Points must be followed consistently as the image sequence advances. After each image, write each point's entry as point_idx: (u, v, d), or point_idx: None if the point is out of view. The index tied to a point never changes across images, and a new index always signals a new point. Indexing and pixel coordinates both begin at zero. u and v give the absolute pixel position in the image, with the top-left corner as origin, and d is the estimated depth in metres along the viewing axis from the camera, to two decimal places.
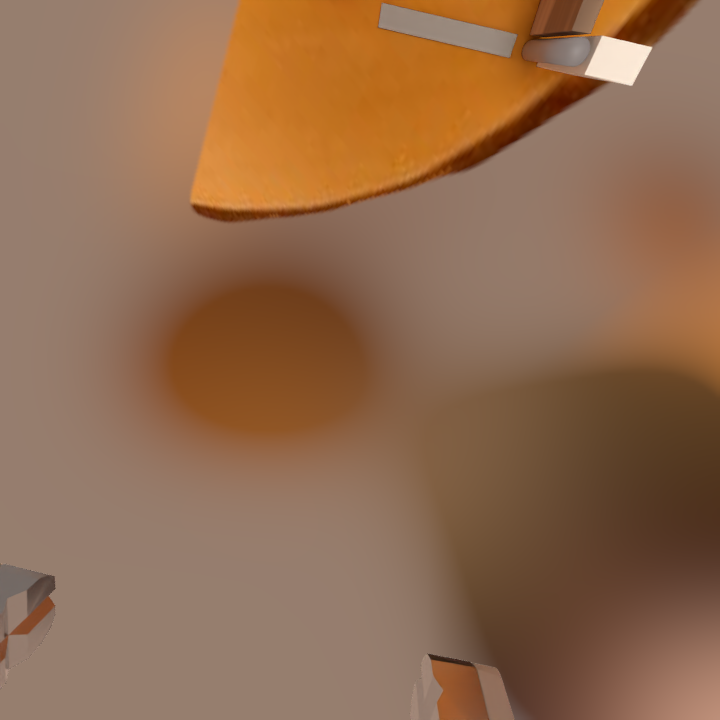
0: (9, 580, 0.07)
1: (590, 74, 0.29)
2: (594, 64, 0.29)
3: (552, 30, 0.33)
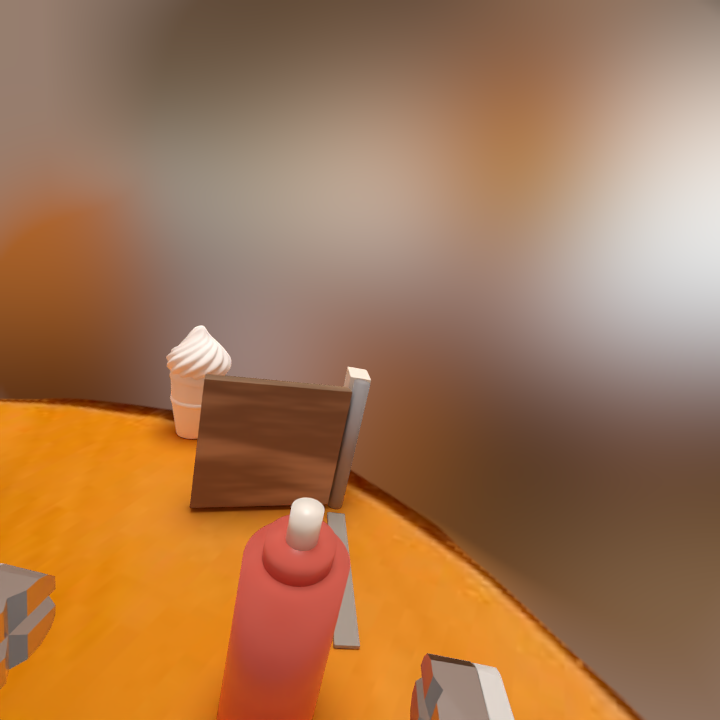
0: (8, 581, 0.07)
1: (369, 378, 0.43)
2: (364, 378, 0.42)
3: (340, 439, 0.41)
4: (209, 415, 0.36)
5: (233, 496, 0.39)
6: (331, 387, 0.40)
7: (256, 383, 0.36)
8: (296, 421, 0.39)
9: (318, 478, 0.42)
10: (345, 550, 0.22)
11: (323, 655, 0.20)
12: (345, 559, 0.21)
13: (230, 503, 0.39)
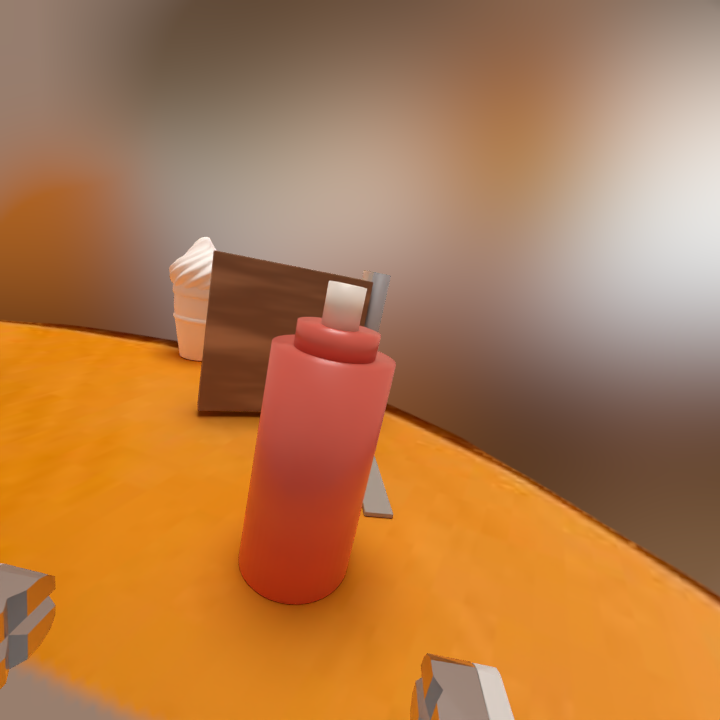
0: (8, 581, 0.07)
1: None
2: None
3: None
4: (220, 297, 0.31)
5: (246, 399, 0.35)
6: (350, 277, 0.37)
7: (272, 262, 0.32)
8: (314, 312, 0.35)
9: None
10: (387, 356, 0.19)
11: (366, 463, 0.17)
12: (388, 360, 0.18)
13: (243, 407, 0.35)
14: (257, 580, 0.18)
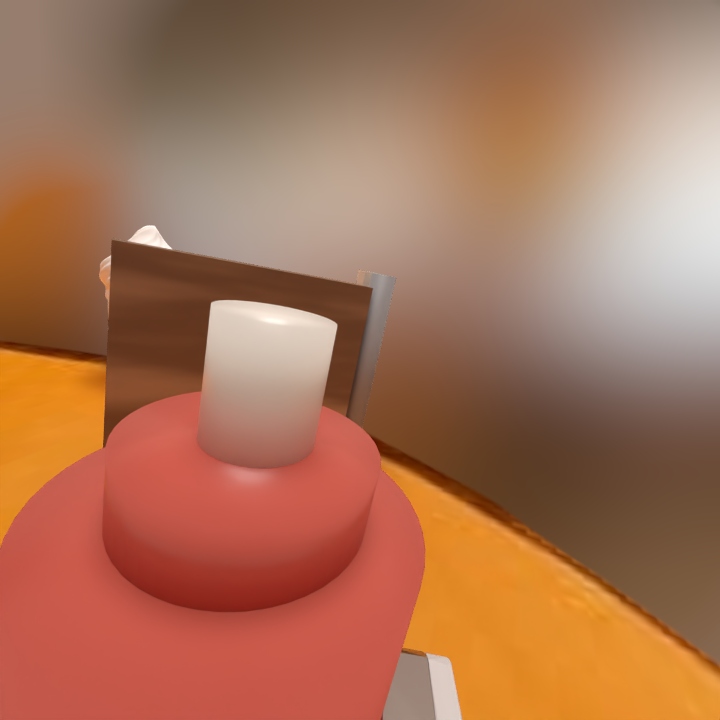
0: None
1: None
2: None
3: (354, 366, 0.27)
4: (128, 319, 0.18)
5: None
6: (340, 281, 0.25)
7: (218, 259, 0.20)
8: None
9: None
10: (397, 491, 0.07)
11: None
12: (403, 514, 0.07)
13: None
14: None
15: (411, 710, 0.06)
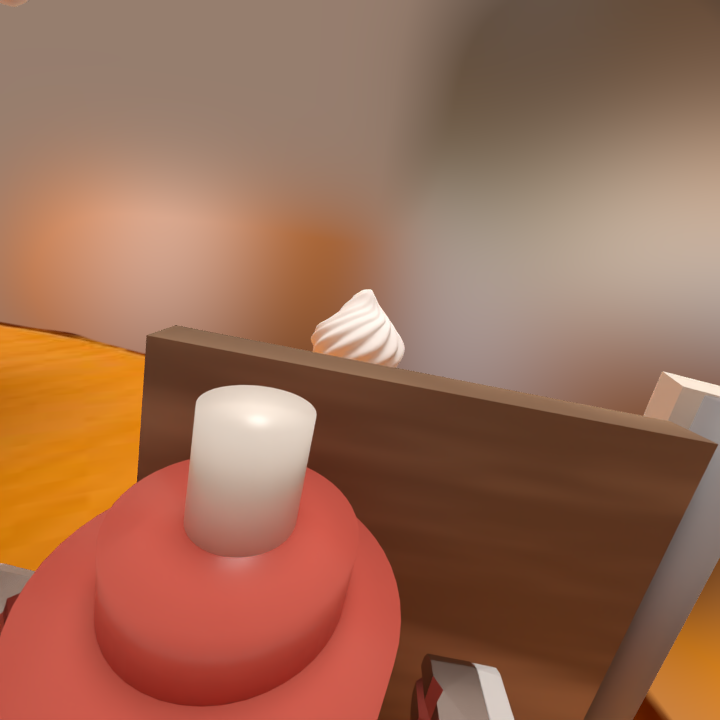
0: (8, 581, 0.07)
1: None
2: None
3: (631, 610, 0.11)
4: None
5: None
6: (620, 416, 0.10)
7: (345, 372, 0.09)
8: (481, 534, 0.10)
9: None
10: (379, 552, 0.08)
11: None
12: (382, 580, 0.07)
13: None
14: None
15: None
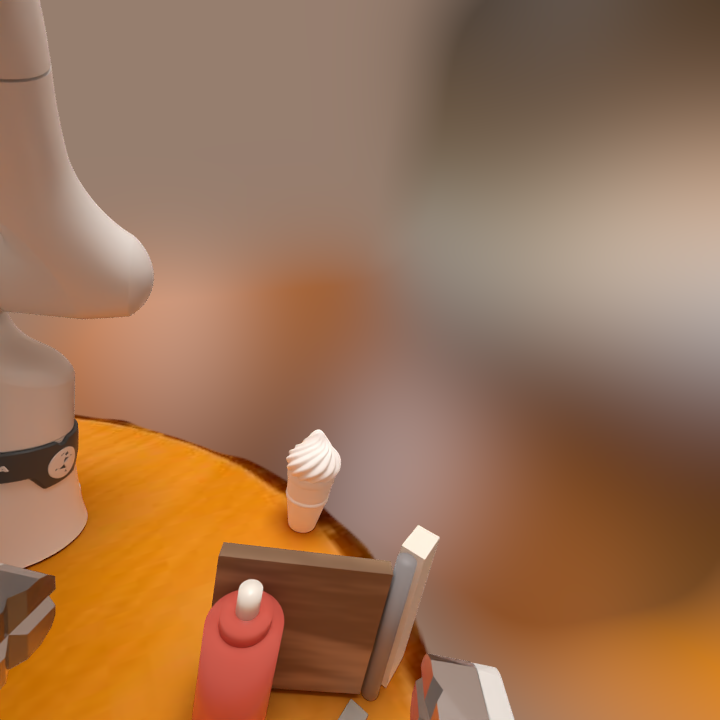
0: (8, 581, 0.07)
1: (425, 556, 0.34)
2: (419, 552, 0.34)
3: (377, 624, 0.33)
4: (223, 592, 0.31)
5: None
6: (368, 564, 0.33)
7: (277, 560, 0.31)
8: (323, 603, 0.32)
9: (348, 665, 0.34)
10: (282, 614, 0.30)
11: (263, 694, 0.28)
12: (280, 622, 0.29)
13: None
14: None
15: None
